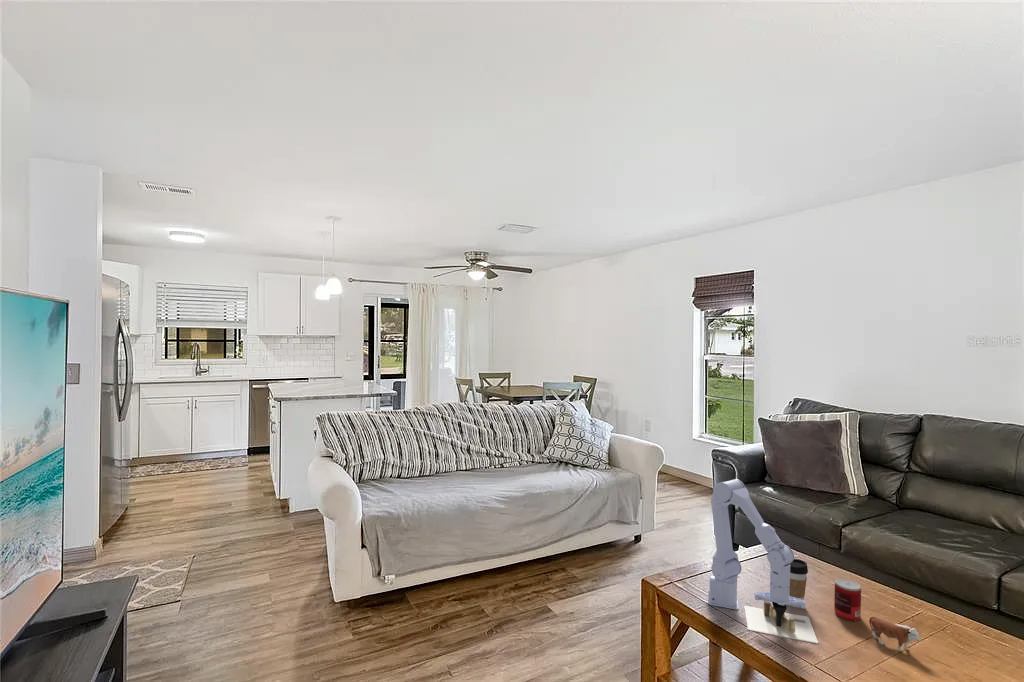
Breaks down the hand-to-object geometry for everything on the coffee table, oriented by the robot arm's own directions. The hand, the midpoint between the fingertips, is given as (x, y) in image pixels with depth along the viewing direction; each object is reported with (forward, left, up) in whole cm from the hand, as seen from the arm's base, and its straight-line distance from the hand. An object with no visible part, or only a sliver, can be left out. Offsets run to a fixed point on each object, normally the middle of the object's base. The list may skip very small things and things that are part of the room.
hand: (778, 624), depth 167 cm
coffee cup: (+8, +20, -2) cm, 22 cm away
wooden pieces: (-2, +10, -1) cm, 10 cm away
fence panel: (+1, +2, -1) cm, 2 cm away
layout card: (+1, +3, -1) cm, 4 cm away
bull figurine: (+33, +2, -2) cm, 33 cm away
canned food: (+24, +18, -2) cm, 30 cm away
